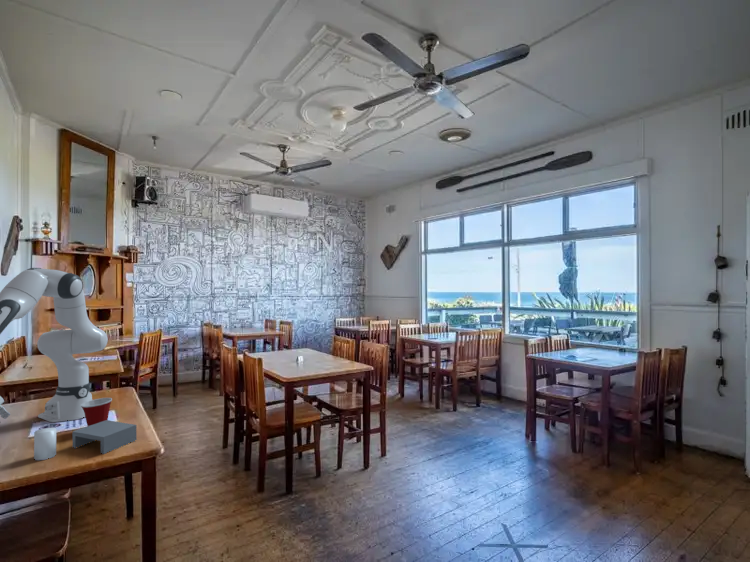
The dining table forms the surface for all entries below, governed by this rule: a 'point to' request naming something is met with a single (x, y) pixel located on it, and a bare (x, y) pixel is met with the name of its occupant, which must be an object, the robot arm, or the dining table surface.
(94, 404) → the plastic cup
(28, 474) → the dining table surface
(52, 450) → the white rounded domed part
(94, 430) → the shelf
